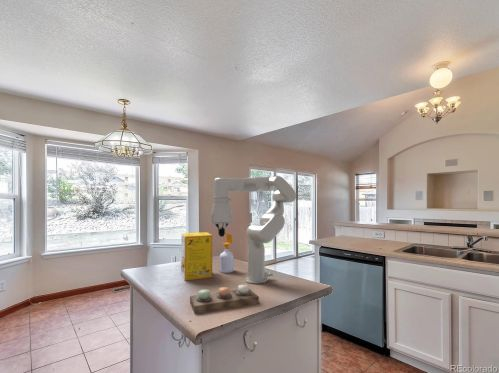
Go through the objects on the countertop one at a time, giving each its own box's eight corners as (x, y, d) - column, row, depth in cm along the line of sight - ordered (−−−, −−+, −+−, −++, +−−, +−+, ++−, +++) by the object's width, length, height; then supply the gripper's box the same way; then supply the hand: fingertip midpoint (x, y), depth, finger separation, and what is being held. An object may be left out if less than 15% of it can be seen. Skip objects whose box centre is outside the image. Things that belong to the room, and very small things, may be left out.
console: (248, 294, 125) (248, 286, 125) (258, 303, 113) (258, 295, 114) (190, 302, 114) (190, 294, 115) (194, 313, 103) (194, 304, 103)
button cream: (246, 289, 121) (246, 284, 121) (250, 292, 116) (250, 287, 116) (236, 290, 119) (236, 285, 119) (240, 294, 114) (240, 288, 114)
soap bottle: (216, 271, 166) (216, 233, 167) (225, 268, 173) (225, 231, 175) (227, 273, 161) (227, 234, 162) (236, 270, 168) (236, 232, 170)
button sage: (208, 294, 114) (208, 288, 114) (210, 298, 110) (210, 292, 110) (197, 295, 112) (197, 290, 112) (199, 299, 108) (199, 293, 108)
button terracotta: (227, 291, 117) (227, 286, 117) (231, 295, 113) (231, 289, 113) (217, 293, 116) (217, 287, 116) (220, 296, 111) (220, 291, 111)
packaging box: (180, 273, 163) (181, 233, 164) (206, 270, 169) (206, 232, 170) (184, 280, 148) (184, 236, 149) (212, 277, 153) (212, 235, 155)
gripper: (232, 201, 143) (232, 234, 142) (205, 201, 137) (205, 236, 136) (237, 201, 136) (237, 236, 135) (209, 201, 130) (209, 238, 129)
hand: (221, 236), depth 135 cm, fingers closed
